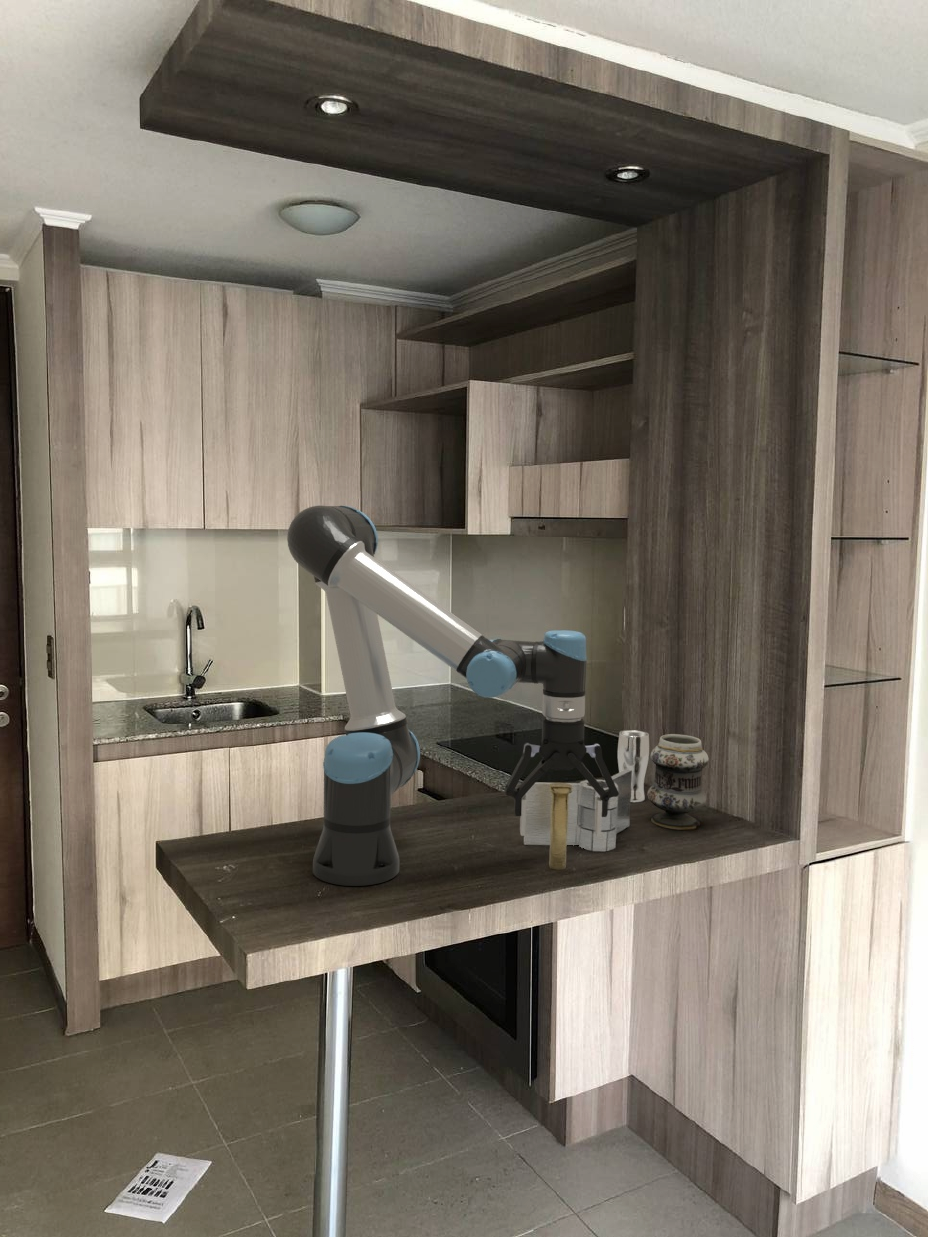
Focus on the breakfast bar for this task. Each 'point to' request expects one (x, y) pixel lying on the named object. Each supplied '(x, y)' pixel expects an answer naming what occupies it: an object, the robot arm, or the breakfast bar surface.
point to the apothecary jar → (678, 781)
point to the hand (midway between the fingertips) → (560, 833)
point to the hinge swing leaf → (615, 815)
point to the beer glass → (634, 759)
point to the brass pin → (559, 824)
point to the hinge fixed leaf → (576, 835)
